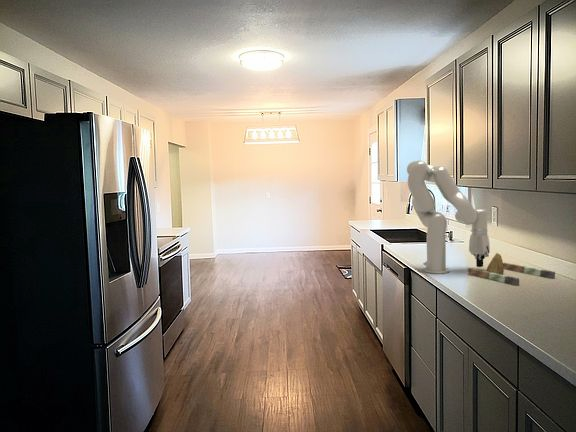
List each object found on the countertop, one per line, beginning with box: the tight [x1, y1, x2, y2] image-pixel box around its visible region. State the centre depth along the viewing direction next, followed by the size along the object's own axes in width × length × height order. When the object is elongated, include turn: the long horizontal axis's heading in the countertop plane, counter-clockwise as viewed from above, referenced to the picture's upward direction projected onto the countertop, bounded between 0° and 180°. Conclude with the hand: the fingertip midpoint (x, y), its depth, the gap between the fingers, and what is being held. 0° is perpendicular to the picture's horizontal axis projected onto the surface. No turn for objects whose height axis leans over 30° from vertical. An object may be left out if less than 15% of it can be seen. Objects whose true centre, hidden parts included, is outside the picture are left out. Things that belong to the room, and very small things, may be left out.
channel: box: [467, 262, 556, 287], centre depth 218 cm, size 28×26×3 cm
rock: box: [485, 252, 505, 275], centre depth 226 cm, size 11×9×10 cm
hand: (479, 266), depth 235 cm, fingers closed
